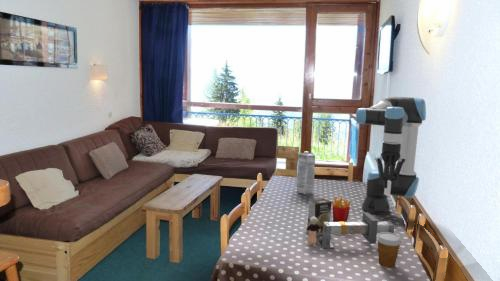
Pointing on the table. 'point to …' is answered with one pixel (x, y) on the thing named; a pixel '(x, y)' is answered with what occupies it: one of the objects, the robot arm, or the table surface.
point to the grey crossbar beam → (350, 230)
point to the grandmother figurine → (312, 231)
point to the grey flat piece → (370, 228)
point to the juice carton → (305, 172)
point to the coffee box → (319, 213)
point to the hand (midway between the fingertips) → (387, 194)
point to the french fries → (340, 210)
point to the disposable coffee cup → (388, 248)
